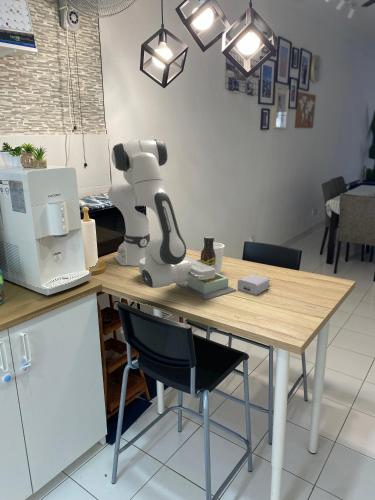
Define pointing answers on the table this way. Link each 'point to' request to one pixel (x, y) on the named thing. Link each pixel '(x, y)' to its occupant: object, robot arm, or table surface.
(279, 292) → the table surface
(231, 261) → the table surface
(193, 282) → the bottle holder
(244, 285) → the charger
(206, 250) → the sauce bottle
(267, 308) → the table surface
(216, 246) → the foam cup
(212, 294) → the mat
